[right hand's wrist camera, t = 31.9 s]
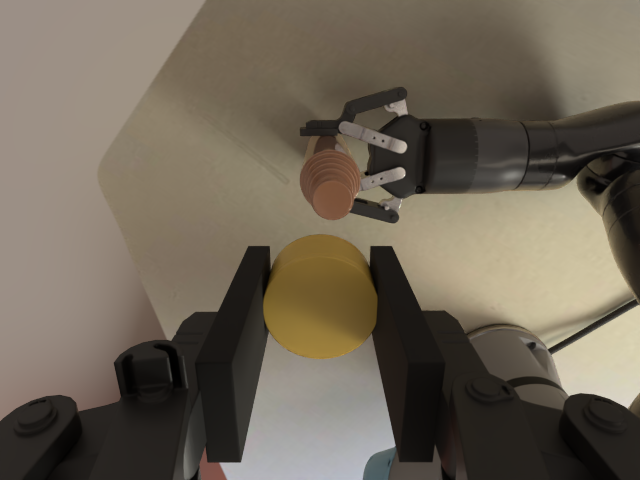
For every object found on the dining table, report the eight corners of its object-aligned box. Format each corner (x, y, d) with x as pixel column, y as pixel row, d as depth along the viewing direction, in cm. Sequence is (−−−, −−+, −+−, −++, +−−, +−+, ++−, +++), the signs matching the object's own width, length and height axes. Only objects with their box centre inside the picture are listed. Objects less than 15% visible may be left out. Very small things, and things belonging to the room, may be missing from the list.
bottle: (344, 170, 48) (364, 238, 26) (305, 167, 48) (292, 232, 25) (348, 131, 47) (374, 166, 24) (308, 127, 46) (297, 159, 24)
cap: (265, 236, 14) (256, 259, 12) (371, 231, 14) (379, 253, 12) (274, 327, 15) (268, 361, 13) (371, 323, 15) (379, 356, 13)
